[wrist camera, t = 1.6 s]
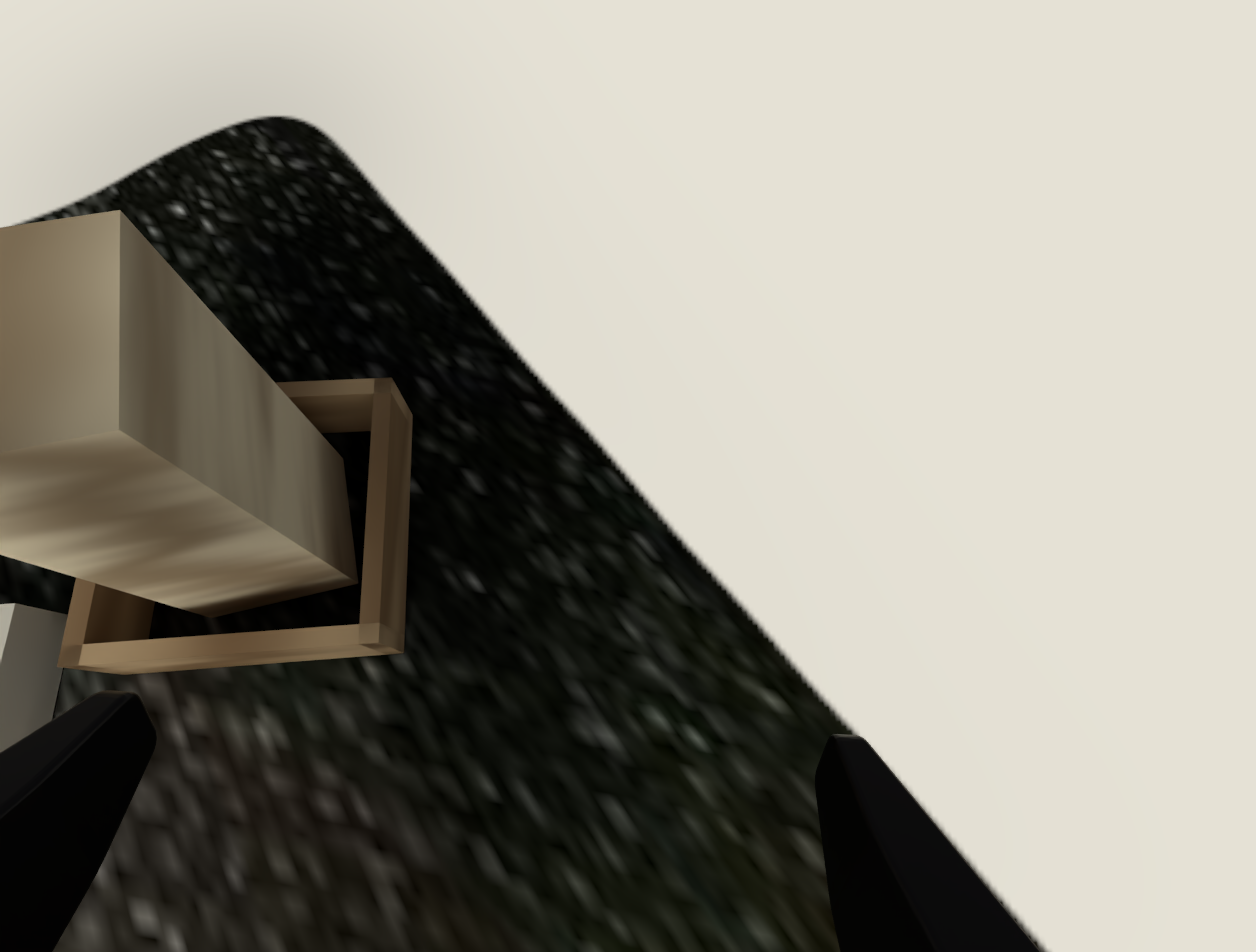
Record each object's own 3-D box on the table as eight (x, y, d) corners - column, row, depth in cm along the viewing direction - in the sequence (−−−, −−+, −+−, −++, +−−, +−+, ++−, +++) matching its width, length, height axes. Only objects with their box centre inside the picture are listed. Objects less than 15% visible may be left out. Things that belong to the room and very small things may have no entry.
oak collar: (123, 674, 22) (56, 666, 19) (168, 426, 25) (116, 389, 23) (403, 652, 23) (378, 642, 20) (412, 415, 26) (391, 377, 23)
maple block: (211, 617, 23) (-208, 492, 11) (205, 486, 25) (-163, 251, 13) (358, 583, 24) (118, 429, 12) (343, 458, 25) (119, 210, 13)
